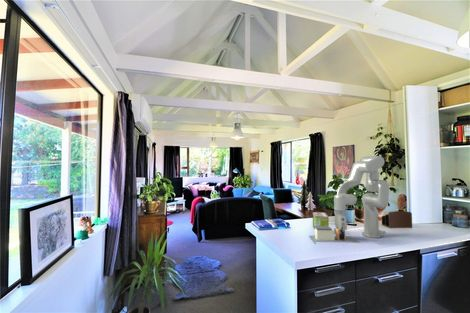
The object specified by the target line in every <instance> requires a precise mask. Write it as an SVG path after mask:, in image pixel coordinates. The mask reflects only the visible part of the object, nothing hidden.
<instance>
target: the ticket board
mask: <svg viewBox="0 0 470 313" xmlns="http://www.w3.org/2000/svg"><path fill="white" fill-rule="evenodd" d="M308 237H309V239H310V240H311V241H312V243H314V244H315V245H316V244H317V243H345V244H346V243H347V244H348V243H351V244H352V243H353V244H355V243H356V244H357V243H358V244H360V241H358V240H357V239H356V238H354V237H353V236H351V235H345V240H338V239H336V229H334V228H333V227H331V226H315V232H314V235H308Z"/></svg>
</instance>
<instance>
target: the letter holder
mask: <svg viewBox="0 0 470 313" xmlns="http://www.w3.org/2000/svg"><path fill="white" fill-rule="evenodd" d="M381 226H383V227H386V228H388V229H412V228H413V214H412V212H411V211H407V210H406V211H403V210H399V211H398V210H397V211H390V212H388V213H387V214H385V215H382V216H381Z"/></svg>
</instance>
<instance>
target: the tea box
mask: <svg viewBox="0 0 470 313" xmlns="http://www.w3.org/2000/svg"><path fill="white" fill-rule="evenodd" d="M329 222H330V220H329V215H328V214H327V212H318V211H317V212H315V211H313V212H312V230H313V232H314V233H315V226H329ZM329 227H330V226H329Z"/></svg>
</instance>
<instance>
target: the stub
mask: <svg viewBox="0 0 470 313" xmlns="http://www.w3.org/2000/svg"><path fill="white" fill-rule="evenodd" d="M341 229H342V228H341ZM341 231H342V230H341ZM339 234H340V229H339V228H336V227H335V236H336V239H338V240H340V239H339ZM345 236H346V233H345V234H344V240H345Z"/></svg>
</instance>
